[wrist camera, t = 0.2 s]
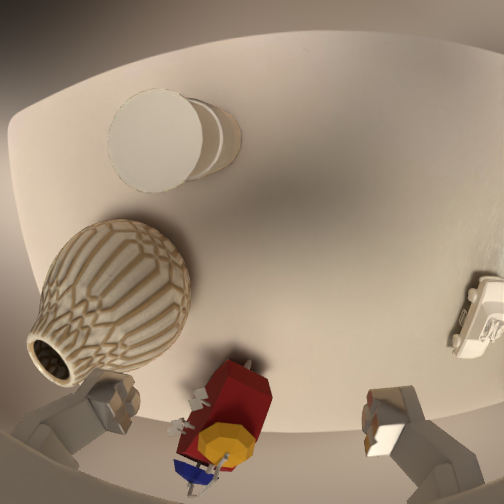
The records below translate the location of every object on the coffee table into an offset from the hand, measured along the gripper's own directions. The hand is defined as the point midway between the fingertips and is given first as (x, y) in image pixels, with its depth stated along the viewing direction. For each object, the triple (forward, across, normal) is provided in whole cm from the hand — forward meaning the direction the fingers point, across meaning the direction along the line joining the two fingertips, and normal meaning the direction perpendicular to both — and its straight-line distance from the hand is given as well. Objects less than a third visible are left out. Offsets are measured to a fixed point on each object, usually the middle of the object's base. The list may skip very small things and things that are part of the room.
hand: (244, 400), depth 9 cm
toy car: (+25, -27, +13) cm, 39 cm away
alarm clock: (+26, +8, +24) cm, 36 cm away
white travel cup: (+26, +7, -8) cm, 28 cm away
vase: (+26, +17, +7) cm, 32 cm away
